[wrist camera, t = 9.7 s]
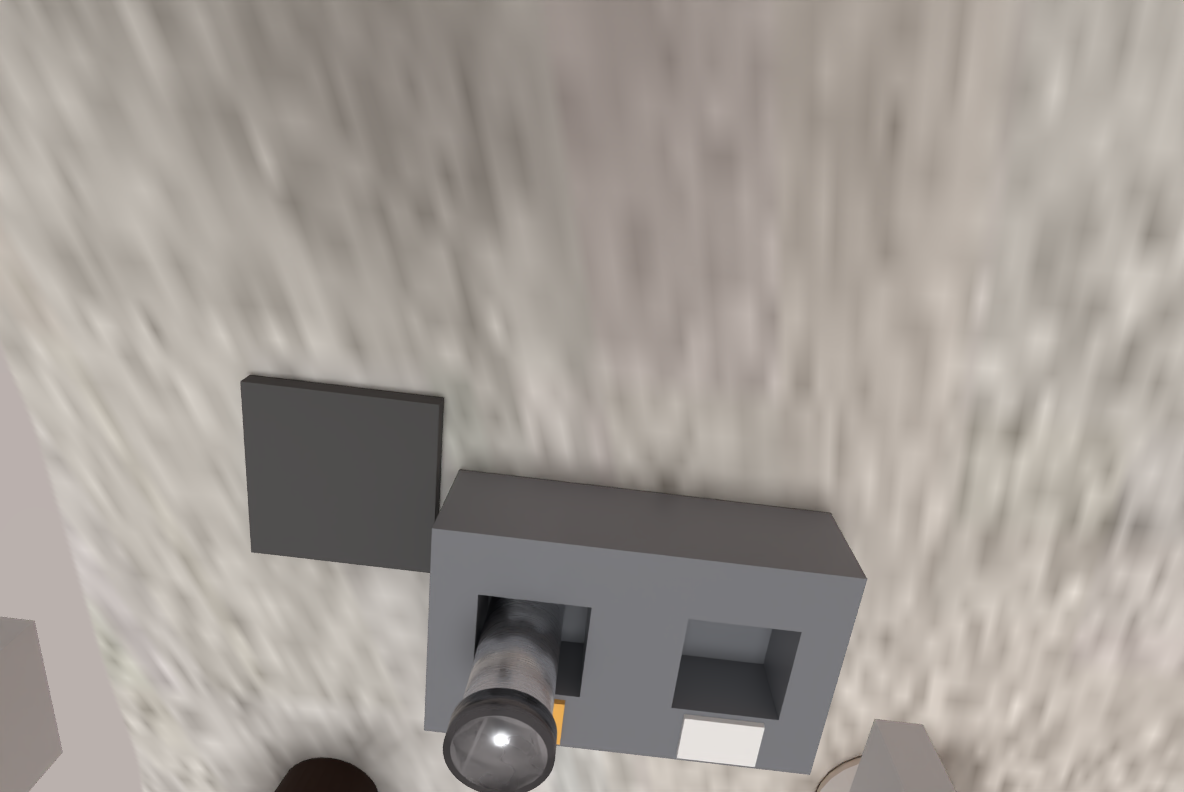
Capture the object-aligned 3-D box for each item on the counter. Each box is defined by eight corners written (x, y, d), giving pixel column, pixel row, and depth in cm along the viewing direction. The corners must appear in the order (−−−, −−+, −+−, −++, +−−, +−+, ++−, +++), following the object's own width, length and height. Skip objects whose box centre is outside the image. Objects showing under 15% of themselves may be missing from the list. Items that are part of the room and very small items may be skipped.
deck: (250, 375, 37) (240, 381, 36) (443, 397, 37) (439, 404, 36) (259, 542, 40) (251, 552, 39) (436, 562, 40) (432, 573, 39)
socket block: (459, 469, 38) (430, 531, 32) (830, 513, 38) (869, 583, 32) (450, 650, 42) (422, 734, 37) (784, 689, 43) (811, 779, 37)
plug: (488, 561, 38) (444, 703, 28) (574, 571, 38) (560, 716, 29) (483, 632, 39) (440, 788, 30) (566, 642, 40) (549, 801, 30)
